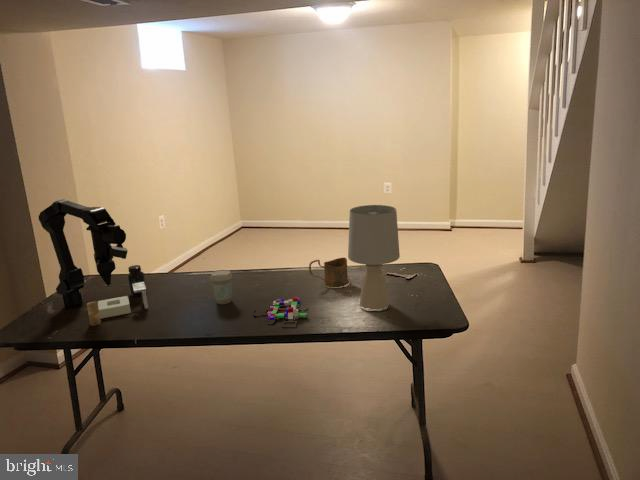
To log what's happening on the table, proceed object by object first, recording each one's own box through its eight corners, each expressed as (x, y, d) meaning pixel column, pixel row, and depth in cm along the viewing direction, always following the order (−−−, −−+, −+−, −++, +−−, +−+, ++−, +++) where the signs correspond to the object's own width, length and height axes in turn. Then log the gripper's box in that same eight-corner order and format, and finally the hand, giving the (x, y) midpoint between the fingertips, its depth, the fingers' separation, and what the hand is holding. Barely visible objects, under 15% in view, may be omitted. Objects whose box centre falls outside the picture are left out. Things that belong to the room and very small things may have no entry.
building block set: (259, 301, 202) (258, 291, 200) (311, 300, 200) (310, 290, 199) (246, 329, 178) (245, 317, 176) (304, 329, 176) (304, 317, 175)
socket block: (99, 318, 191) (98, 310, 190) (99, 309, 200) (97, 301, 199) (130, 312, 195) (129, 304, 194) (129, 303, 204) (127, 295, 203)
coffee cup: (208, 303, 200) (205, 275, 197) (222, 296, 208) (219, 268, 204) (225, 307, 196) (222, 277, 193) (239, 299, 204) (236, 270, 201)
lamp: (398, 317, 180) (398, 215, 170) (346, 315, 184) (342, 215, 174) (401, 297, 197) (400, 204, 187) (353, 296, 201) (350, 204, 191)
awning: (137, 311, 197) (133, 290, 194) (135, 303, 205) (132, 283, 202) (148, 308, 198) (145, 288, 196) (146, 301, 206) (143, 281, 204)
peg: (90, 326, 185) (86, 306, 183) (90, 322, 188) (86, 302, 186) (101, 324, 186) (97, 304, 184) (100, 320, 189) (97, 300, 187)
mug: (305, 285, 216) (303, 258, 213) (342, 277, 223) (341, 251, 220) (316, 293, 206) (315, 265, 202) (354, 285, 213) (354, 258, 209)
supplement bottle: (149, 290, 218) (145, 264, 214) (142, 296, 211) (138, 269, 208) (134, 290, 218) (130, 264, 215) (127, 296, 212) (122, 269, 209)
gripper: (127, 244, 183) (133, 285, 187) (121, 233, 199) (127, 271, 204) (93, 249, 179) (100, 291, 183) (90, 237, 195) (97, 276, 199)
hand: (107, 281), depth 192 cm, fingers open, 9 cm apart
